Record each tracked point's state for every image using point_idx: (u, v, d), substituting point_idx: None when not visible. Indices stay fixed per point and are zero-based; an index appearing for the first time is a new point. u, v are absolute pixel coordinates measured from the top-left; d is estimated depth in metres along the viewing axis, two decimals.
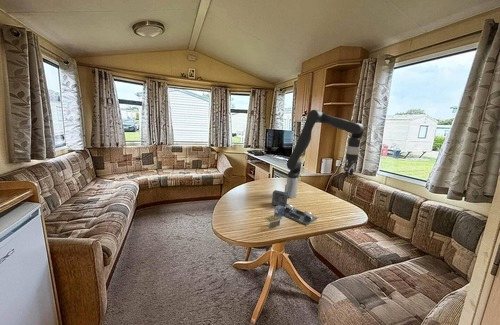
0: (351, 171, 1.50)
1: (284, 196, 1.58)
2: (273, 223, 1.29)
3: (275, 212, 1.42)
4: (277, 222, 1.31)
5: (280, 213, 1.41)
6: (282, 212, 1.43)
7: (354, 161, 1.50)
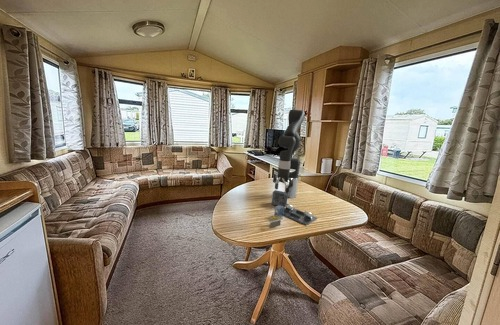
0: (277, 185, 1.43)
1: (284, 196, 1.58)
2: (274, 223, 1.30)
3: (275, 212, 1.42)
4: (278, 222, 1.31)
5: (280, 213, 1.41)
6: (282, 212, 1.43)
7: None
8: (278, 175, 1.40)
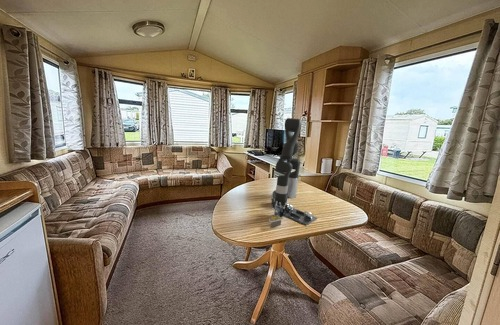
0: None
1: None
2: (274, 223, 1.30)
3: (275, 212, 1.42)
4: (278, 222, 1.32)
5: (280, 213, 1.41)
6: None
7: (274, 199, 1.46)
8: (275, 199, 1.43)
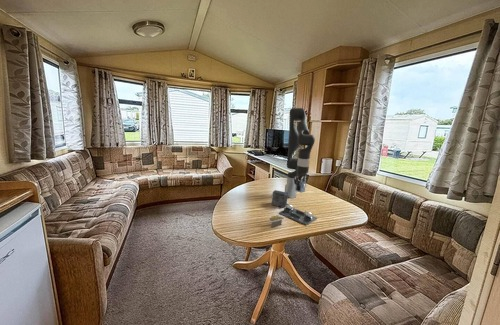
0: None
1: (284, 196, 1.58)
2: (275, 223, 1.30)
3: (304, 187, 1.39)
4: (279, 222, 1.32)
5: None
6: None
7: None
8: (300, 175, 1.38)
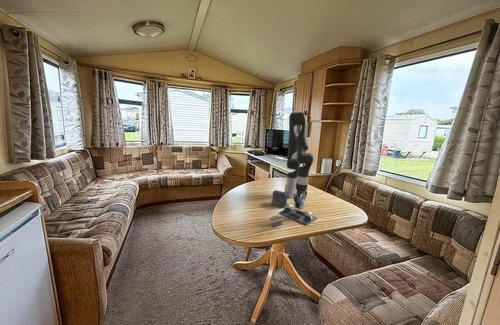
0: None
1: (284, 196, 1.58)
2: (275, 222, 1.30)
3: (303, 204, 1.42)
4: (279, 222, 1.32)
5: None
6: None
7: (295, 194, 1.40)
8: (299, 192, 1.40)
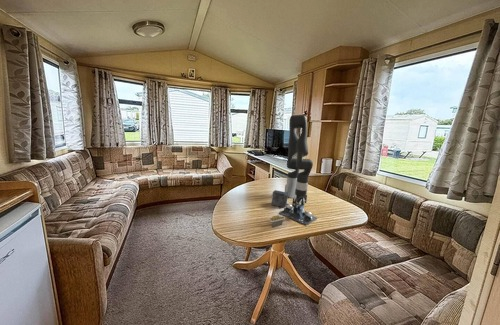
0: None
1: (284, 196, 1.58)
2: (275, 222, 1.30)
3: (302, 211, 1.43)
4: (279, 221, 1.32)
5: None
6: None
7: None
8: (299, 198, 1.41)
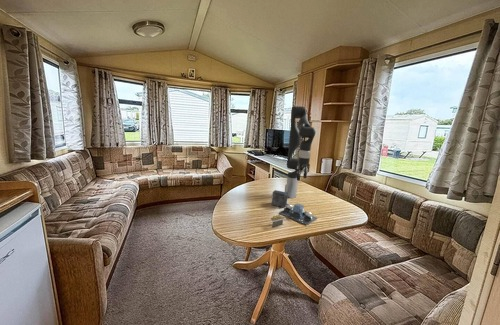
0: None
1: (284, 196, 1.58)
2: (276, 222, 1.31)
3: (302, 211, 1.43)
4: (280, 221, 1.32)
5: None
6: None
7: None
8: (302, 166, 1.44)
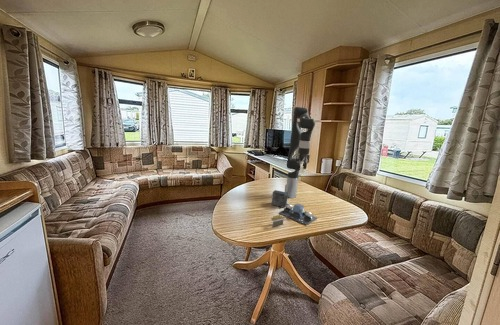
0: None
1: (284, 196, 1.58)
2: (276, 222, 1.31)
3: (302, 211, 1.43)
4: (280, 221, 1.32)
5: None
6: None
7: (298, 156, 1.48)
8: (302, 156, 1.49)
